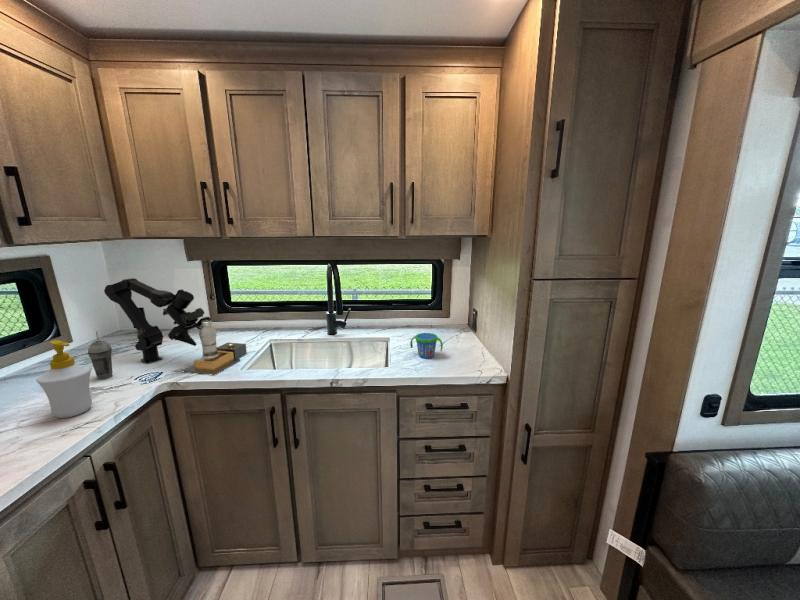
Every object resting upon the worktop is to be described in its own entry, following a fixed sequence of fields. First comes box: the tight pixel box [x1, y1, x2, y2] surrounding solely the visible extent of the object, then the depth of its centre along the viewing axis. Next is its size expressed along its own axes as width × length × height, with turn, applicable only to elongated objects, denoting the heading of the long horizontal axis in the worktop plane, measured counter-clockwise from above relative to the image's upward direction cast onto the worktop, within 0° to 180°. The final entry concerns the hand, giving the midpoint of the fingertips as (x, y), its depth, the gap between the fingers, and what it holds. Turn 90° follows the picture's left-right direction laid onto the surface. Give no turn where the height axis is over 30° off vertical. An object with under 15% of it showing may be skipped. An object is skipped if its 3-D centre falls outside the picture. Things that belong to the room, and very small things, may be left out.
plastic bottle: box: [198, 319, 220, 361], centre depth 143 cm, size 6×7×20 cm
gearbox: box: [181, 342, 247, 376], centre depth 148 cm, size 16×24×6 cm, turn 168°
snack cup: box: [409, 332, 444, 359], centre depth 157 cm, size 16×10×10 cm
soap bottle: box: [35, 339, 93, 419], centre depth 106 cm, size 13×13×25 cm
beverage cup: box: [87, 330, 113, 381], centre depth 132 cm, size 7×7×20 cm
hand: (204, 341), depth 143 cm, fingers open, 9 cm apart
